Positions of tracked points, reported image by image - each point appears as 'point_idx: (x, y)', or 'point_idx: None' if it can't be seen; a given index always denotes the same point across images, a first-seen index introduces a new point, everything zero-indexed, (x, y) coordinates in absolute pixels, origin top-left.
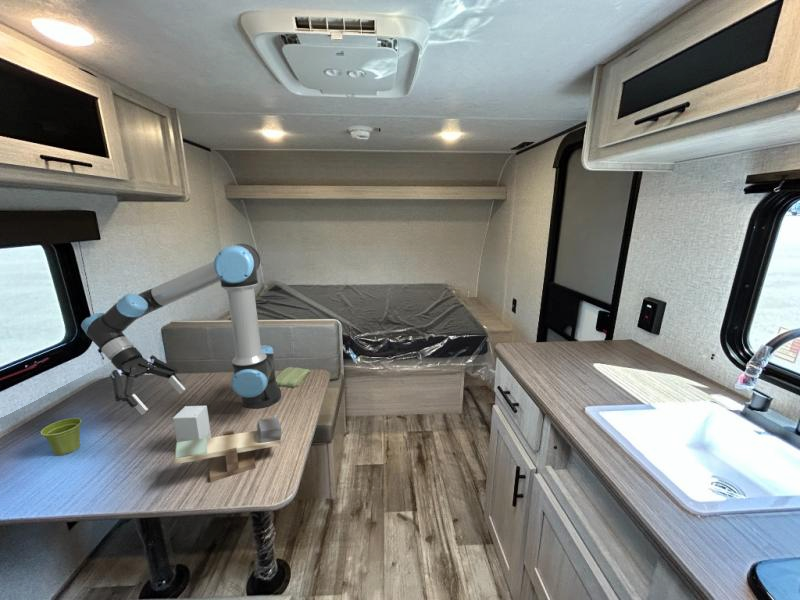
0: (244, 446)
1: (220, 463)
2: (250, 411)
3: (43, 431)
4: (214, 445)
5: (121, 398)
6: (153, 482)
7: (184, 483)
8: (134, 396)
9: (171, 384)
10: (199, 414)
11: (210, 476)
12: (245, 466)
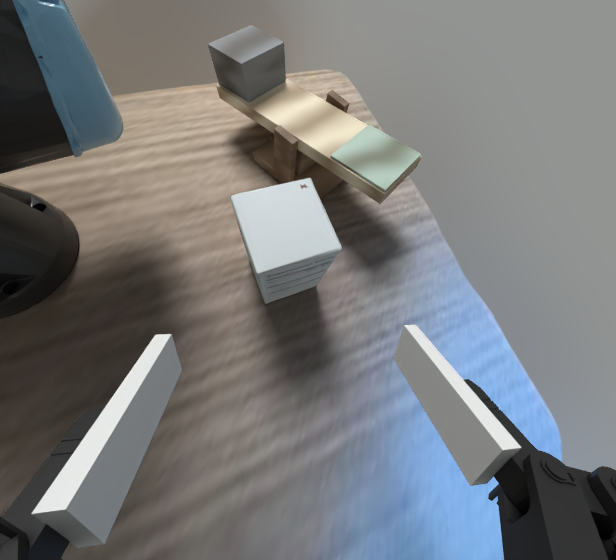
0: (310, 94)
1: (323, 168)
2: (98, 244)
3: None
4: (340, 132)
5: (585, 474)
6: (394, 258)
7: (373, 206)
8: (495, 422)
9: (137, 469)
10: (289, 183)
11: None
12: None
